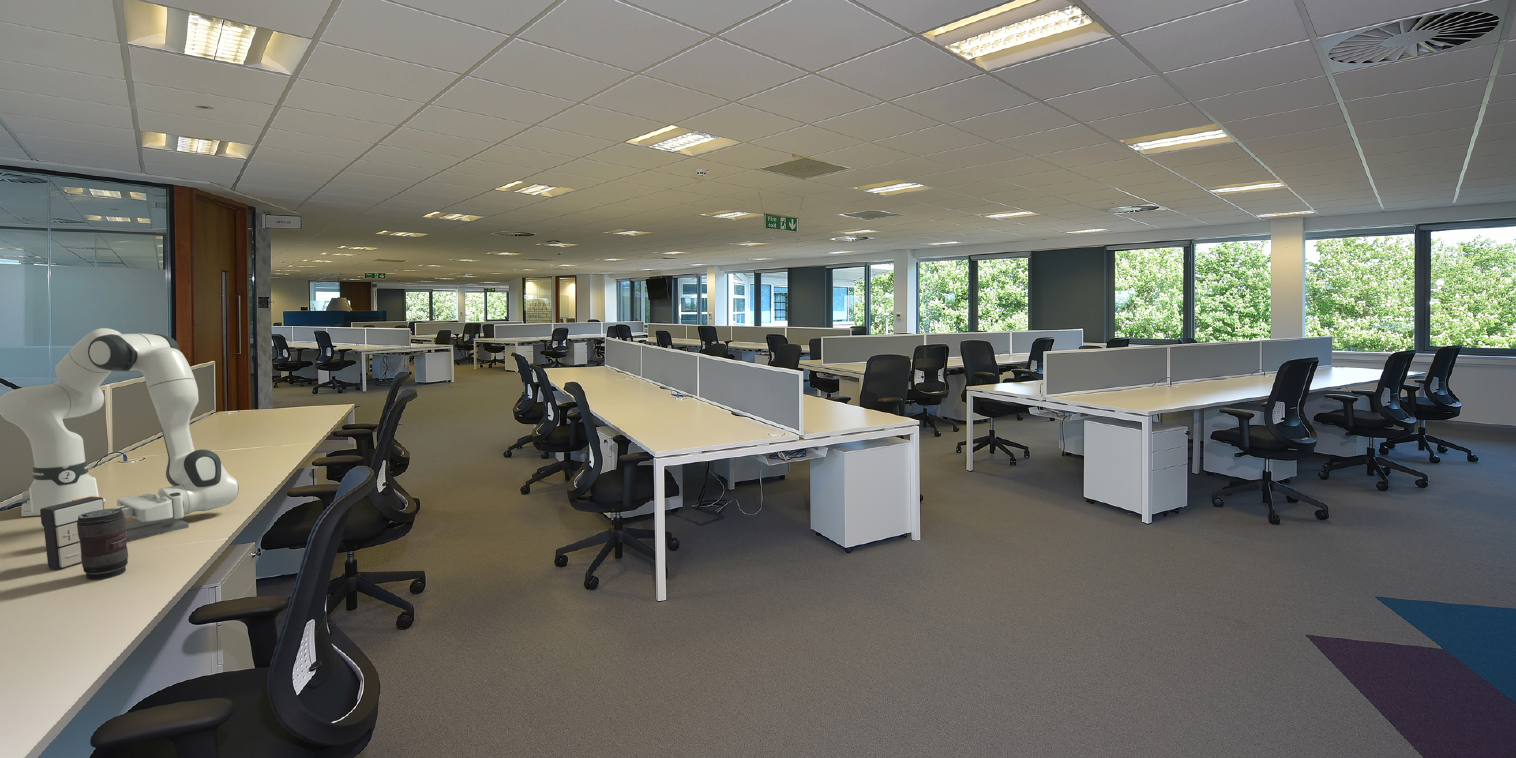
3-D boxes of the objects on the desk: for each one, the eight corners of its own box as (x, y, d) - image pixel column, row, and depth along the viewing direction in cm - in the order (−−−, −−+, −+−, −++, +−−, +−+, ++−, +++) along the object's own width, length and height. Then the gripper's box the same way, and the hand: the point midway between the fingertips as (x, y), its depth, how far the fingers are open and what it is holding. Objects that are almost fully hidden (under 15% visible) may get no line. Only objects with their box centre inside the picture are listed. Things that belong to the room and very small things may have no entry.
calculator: (60, 570, 163) (53, 509, 162) (46, 569, 164) (39, 508, 163) (111, 554, 174) (105, 497, 172) (98, 553, 175) (92, 496, 173)
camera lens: (126, 565, 167) (120, 505, 165) (132, 573, 162) (127, 511, 160) (80, 575, 161) (73, 513, 159) (85, 584, 156) (78, 520, 154)
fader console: (57, 542, 183) (56, 537, 183) (169, 518, 203) (169, 514, 203) (73, 552, 175) (72, 547, 175) (188, 527, 195) (188, 522, 195)
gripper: (156, 486, 202) (92, 497, 191) (182, 496, 191) (117, 509, 180) (158, 507, 203) (95, 519, 191) (184, 518, 192) (119, 532, 180)
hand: (106, 514), depth 185 cm, fingers closed
